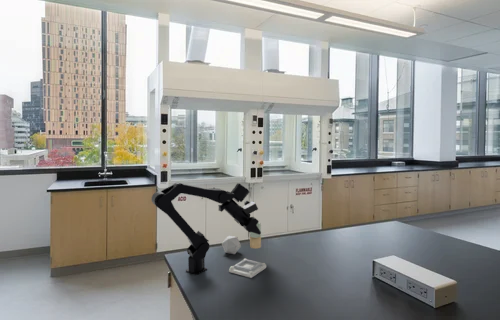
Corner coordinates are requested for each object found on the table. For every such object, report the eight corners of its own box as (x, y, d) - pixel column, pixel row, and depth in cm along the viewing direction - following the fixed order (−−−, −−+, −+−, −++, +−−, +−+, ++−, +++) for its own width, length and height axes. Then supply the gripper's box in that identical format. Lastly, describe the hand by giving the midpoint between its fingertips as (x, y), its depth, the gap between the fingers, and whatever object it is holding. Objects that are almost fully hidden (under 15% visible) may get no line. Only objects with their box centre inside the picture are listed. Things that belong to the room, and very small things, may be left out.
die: (243, 252, 157) (236, 234, 161) (241, 249, 150) (234, 230, 154) (228, 259, 157) (221, 240, 161) (225, 256, 149) (218, 237, 153)
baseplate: (251, 277, 127) (251, 272, 127) (228, 271, 133) (228, 266, 133) (266, 267, 137) (266, 262, 137) (244, 262, 143) (244, 257, 143)
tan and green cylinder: (257, 249, 142) (257, 225, 141) (247, 247, 145) (247, 223, 144) (263, 246, 146) (262, 222, 145) (253, 244, 149) (253, 221, 148)
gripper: (253, 200, 134) (278, 223, 138) (240, 193, 151) (262, 214, 156) (236, 220, 132) (261, 243, 136) (224, 210, 149) (247, 231, 154)
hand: (258, 232), depth 145 cm, fingers closed on tan and green cylinder, 5 cm apart
